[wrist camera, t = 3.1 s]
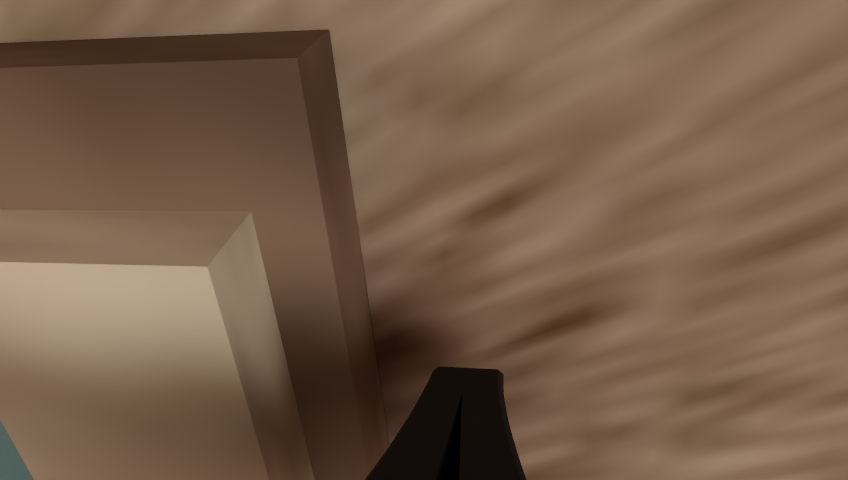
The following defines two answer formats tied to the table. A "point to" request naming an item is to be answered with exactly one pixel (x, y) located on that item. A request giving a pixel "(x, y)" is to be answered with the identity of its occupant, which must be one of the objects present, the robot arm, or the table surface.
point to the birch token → (143, 348)
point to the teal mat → (11, 459)
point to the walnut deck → (217, 185)
